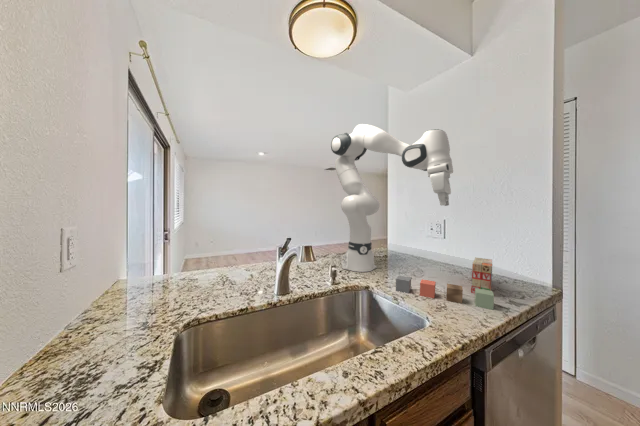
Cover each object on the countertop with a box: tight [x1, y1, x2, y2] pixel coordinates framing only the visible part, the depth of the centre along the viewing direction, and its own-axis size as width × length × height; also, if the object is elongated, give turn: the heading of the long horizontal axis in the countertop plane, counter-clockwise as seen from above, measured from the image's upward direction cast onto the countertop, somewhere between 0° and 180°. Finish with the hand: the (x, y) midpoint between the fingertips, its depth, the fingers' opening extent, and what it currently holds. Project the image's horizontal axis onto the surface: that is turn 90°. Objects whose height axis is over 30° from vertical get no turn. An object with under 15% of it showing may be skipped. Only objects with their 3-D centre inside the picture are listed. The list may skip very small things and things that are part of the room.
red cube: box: [419, 279, 437, 299], centre depth 92 cm, size 5×5×5 cm
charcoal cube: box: [395, 275, 412, 294], centre depth 97 cm, size 5×5×5 cm
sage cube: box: [474, 288, 495, 310], centre depth 83 cm, size 5×5×5 cm
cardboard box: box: [470, 257, 493, 294], centre depth 102 cm, size 21×6×12 cm, turn 143°
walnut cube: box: [445, 283, 464, 305], centre depth 88 cm, size 5×5×5 cm
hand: (444, 205), depth 92 cm, fingers open, 8 cm apart
